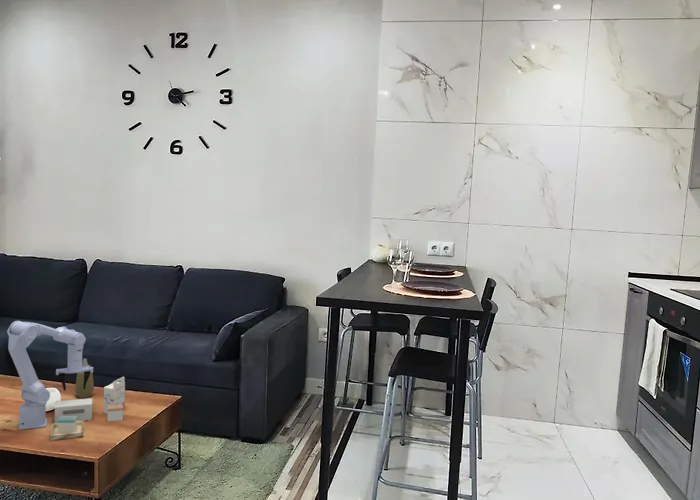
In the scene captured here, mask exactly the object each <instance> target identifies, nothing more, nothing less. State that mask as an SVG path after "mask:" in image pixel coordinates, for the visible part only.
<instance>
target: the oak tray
mask: <svg viewBox="0 0 700 500" xmlns="http://www.w3.org/2000/svg"><path fill="white" fill-rule="evenodd" d="M84 422H85V421H77V430H76V431H75V432H74V433H65V434H58V423H57V424H55V423H51V426H50V427H51V428H50V432H49V442H53V441H62V440H70V439H71V440H72V439H79V438H84V424H85V423H84Z"/></svg>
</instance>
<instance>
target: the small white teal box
mask: <svg viewBox="0 0 700 500" xmlns="http://www.w3.org/2000/svg"><path fill="white" fill-rule="evenodd" d="M76 430H77V416H61V417H60V418H59V419H58V434H65V433H74V432H75V431H76Z"/></svg>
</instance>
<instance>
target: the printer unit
mask: <svg viewBox="0 0 700 500" xmlns="http://www.w3.org/2000/svg"><path fill="white" fill-rule="evenodd" d="M54 403H55V404H54V424H57V423H58V419H59V418H60V417H61V416H77V421H84V422H86V420H88V421H92V420H93V397H92V398H91V397H90V398H89V397H88V398H80V399H79V398H78V399H67V400H57V401H55V402H54Z"/></svg>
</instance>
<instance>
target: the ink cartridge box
mask: <svg viewBox="0 0 700 500" xmlns="http://www.w3.org/2000/svg"><path fill="white" fill-rule="evenodd" d="M125 380H126V379H125V376H122V377H120V378H118V379H116V380H114V381H113V382H112V383H110V384H109V385H106V386H104V387H103V413H104V414H107V410H108V409H107V406H111V405H121V404H123V409H124V408H125V403H126V402H125V401H126V400H125V399H126V398H125V397H126V395H125V394H126V393H125V392H126V390H125V389H126V382H125Z"/></svg>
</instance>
